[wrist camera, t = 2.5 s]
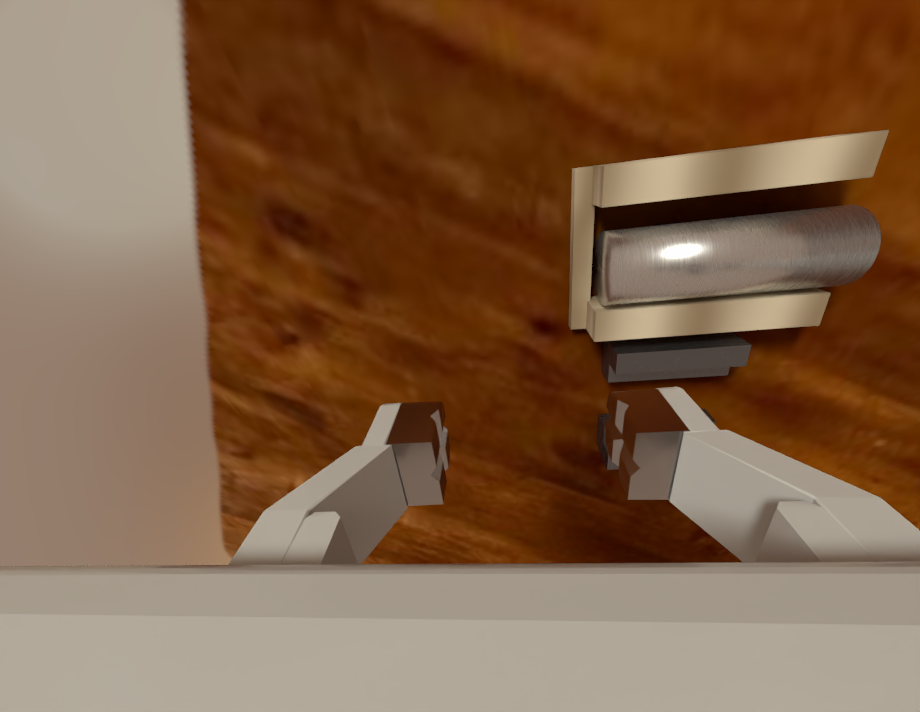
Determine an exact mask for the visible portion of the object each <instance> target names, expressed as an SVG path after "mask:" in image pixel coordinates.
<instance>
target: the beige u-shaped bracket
mask: <svg viewBox="0 0 920 712" xmlns="http://www.w3.org/2000/svg"><path fill="white" fill-rule="evenodd" d="M888 132H889V130H884V131H874V132H863V133H853V134H843V135H833V136H825V137H817V138H809V139H802V140H794V141H786V142H778V143H770V144H762V145H754V146H746V147H739V148H731V149H723V150H715V151H707V152H699V153H691V154H683V155H676V156H668V157H660V158H652V159H644V160H636V161H628V162H620V163H613V164H605V165H597V166H589V167H581V168H573V169H572V199H571V246H570V293H569V327H570V329H571V330H573V329H587V331H588V333H589V334H590V336H591V338H592V339H593V341H594V342H601V341H615V340H628V339H642V338H656V337H669V336H683V335H696V334H710V333H724V332H737V331H751V330H765V329H778V328H792V327H805V326H819V325H820V322H821V319H822V316H823V314H824V311H825V308H826V305H827V303H828V300H829V297H830V294H831V293H829V292H826V291H823V290H821V289H818V288H808V289H796V290H784V291H772V292H761V293H749V294H737V295H725V296H713V297H701V298H689V299H678V300H666V301H654V302H642V303H630V304H618V305H606V306H603V305H601V304H600V302H599V301H598V298H597V296H592V297H590V295H591V275H592V254H593V233H594V213H595V206H598V207H601V208H604V207H613V206H621V205H630V204H639V203H648V202H656V201H665V200H674V199H683V198H692V197H700V196H709V195H718V194H727V193H735V192H744V191H753V190H762V189H771V188H779V187H788V186H797V185H806V184H814V183H823V182H832V181H841V180H850V179H858V178H867V177H873V174H874V171H875V168H876V166H877V163H878V160H879V157H880V154H881V152H882V149H883V146H884V143H885V140H886V138H887V135H888Z"/></svg>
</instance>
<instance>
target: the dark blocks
mask: <svg viewBox="0 0 920 712" xmlns="http://www.w3.org/2000/svg"><path fill="white" fill-rule="evenodd" d="M750 349H751V344H749V343H748V342H746V341H745V340H743V339H742V338H740V337H739V336H737V335H736V334H735V333H733V332H724V333H710V334H696V335H683V336H669V337H656V338H642V339H628V340H615V341H604V345H603V360H602V373H603V375H604V377H605V378H606V380H607V382H608V383H609V382H625V381H642V380H658V379H674V378H691V377H707V376H724V375H728V373H729V369H730V367H739V366H746V364H747V360H748V356H749V353H750ZM701 410H702V411H703V412H704V413H705V414H706V415H707V417H708V418H709V419H710V420H711V421H712V422H713V423H714V424H716V421H715V420H714V419H713V418H712V417H711V415H710V414H709V413H708V412H707V411H706V410H705V409H701ZM610 417H611V415H610V414H599V417H598V431H597V446H598V448H599V451H600V453H601V456H602V458H603V461H604V463H605V466H606V468H607V470H613V469H618V468H619V466H617V465H616V464H614V463H613V462H612V461H611V459H610V456H609V454H608V450H607V447H606V439H605V423H606V421H607V420H608V419H609V418H610Z"/></svg>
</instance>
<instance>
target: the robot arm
mask: <svg viewBox="0 0 920 712" xmlns="http://www.w3.org/2000/svg"><path fill="white" fill-rule="evenodd" d="M607 409H608V411H609V413H610V415H611V417H610V418H609V419H608V420H607V421H606V423H605V439H606V447H607V450H608V454H609V456H610V459H611V461H612V462H613V463H614V464H616V465H617V466H619V468H618V478H619V480H620V483H621V485H622V487H623V490H624V492H625V494H626V497H627V499H628V500H670V501H669V502H671V503H672V504H673V505H674V506H675V507H677V508H678V509H679V510H680V511H681V512H683V513H684V514H685V515H686V516H688V517H689V518H690V519H691V520H692V521H694V522H695V523H696V524H697V525H698V526H700V527H701V528H702V529H703V530H705V531H706V532H707V533H708V534H709V535H711V536H712V537H713V538H714V539H715V540H717V541H718V542H719V543H720V544H722V545H723V546H724V547H725V548H726V549H728V550H729V551H730V552H731V553H732V554H734V555H735V556H736V557H737V558H738V559H740V560H741V561H742V562H733V563H522V564H362V562H363V561H364V560H365V559H366V558H367V556H368V555H369V554H370V553H371V552H372V550H373V549H374V548H375V547H376V546H377V544H378V543H379V542H380V541H381V540H382V538H383V537H384V536H385V535H386V534H387V532H388V531H389V530H390V529H391V527H392V526H393V525H394V524H395V523H396V521H397V520H398V519H399V518H400V517H401V515H402V514H403V513H404V512H405V511H406V509H407V506H416V505H435V504H443V503H444V496H445V489H446V482H447V481H446V475H445V470H446V469H448V467H449V459H450V445H449V435H448V430H447V429H446V428H445V427H444V421H445V411H444V406H443V403H442V402H441V401H438V402H411V403H390V404H383V405H381V406H380V408H379V410H378V412H377V414H376V416H375V418H374V421H373V423H372V425H371V427H370V429H369V431H368V434H367V436H366V438H365V440H364V442H363V444H362V446H355V447H354V448H353V449H351V450H350V451H348V452H347V453H346V454H344V455H343V456H341V457H340V458H338V459H337V460H336V461H334V462H333V463H331V464H330V465H329V466H327V467H326V468H324V469H323V470H321V471H320V472H319V473H317V474H316V475H314V476H313V477H312V478H310V479H309V480H307V481H306V482H304V483H303V484H302V485H300V486H299V487H297V488H296V489H295V490H293V491H292V492H290V493H289V494H287V495H286V496H285V497H283V498H282V499H280V500H279V501H278V502H276V503H275V504H273V505H272V506H270V507H269V508H268V509H266V510H265V511H264V512H263V513H262V515H261V516H260V518H259V519H258V521H257V522H256V524H255V525H254V527H253V528H252V530H251V531H250V533H249V534H248V536H247V537H246V539H245V540H244V542H243V543H242V545H241V546H240V548H239V549H238V551H237V552H236V554H235V555H234V557H233V558H232V560H231V561H230V563H229V565H147V566H146V565H144V566H143V565H137V566H135V565H134V566H133V565H130V566H0V712H920V531H919V530H918V529H917V528H916V527H915V526H913V525H912V524H911V523H910V522H909V521H908V520H906V519H905V518H904V517H903V516H902V515H900V514H899V513H898V512H897V511H896V510H894V509H893V508H892V507H891V506H890V505H889V504H887V503H886V502H885V501H884V500H883V499H881V498H880V497H878V496H875V495H873V494H871V493H869V492H866V491H864V490H862V489H860V488H857V487H855V486H853V485H851V484H848V483H846V482H844V481H842V480H839V479H837V478H835V477H833V476H830V475H828V474H826V473H824V472H821V471H819V470H817V469H815V468H812V467H810V466H808V465H806V464H803V463H801V462H799V461H797V460H794V459H792V458H790V457H787V456H785V455H783V454H781V453H778V452H776V451H774V450H772V449H769V448H767V447H765V446H763V445H760V444H758V443H756V442H754V441H751V440H749V439H747V438H745V437H742V436H740V435H738V434H736V433H733V432H731V431H729V430H719V429H718V428H717V427H716V425H715V424H714V423H713V422H712V421H711V420H710V419H709V418H708V417H707V415H706V414H705V413H704V412H703V411H702V410H701V409H700V408H699V407H698V405H697V404H696V403H695V402H694V401H693V400H692V399H691V398H690V397H689V395H688V394H687V393H686V392H685V391H684V390H683V389H682V388H680V387H667V388H656V389H648V390H635V391H621V392H609V395H608V399H607Z"/></svg>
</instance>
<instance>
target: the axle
mask: <svg viewBox="0 0 920 712" xmlns="http://www.w3.org/2000/svg"><path fill="white" fill-rule="evenodd" d="M880 242H881V232H880V227H879V223H878V221H877V219H876V217H875V216H874V215H873V214H872V213H871V212H870V211H869V210H868V209H866V208H864V207H862V206H858V205H843V206H834V207H824V208H815V209H806V210H796V211H787V212H778V213H768V214H759V215H750V216H740V217H731V218H722V219H712V220H703V221H694V222H684V223H675V224H666V225H656V226H647V227H638V228H628V229H619V230H610V231H602V232H601V233H600V234H599V235H598V237H597V240H596V244H595V251H594V271H593V278H594V287H595V292H596V295H597V298H598V301H599V302H600V304H601V305H603V306H606V305H618V304H630V303H642V302H654V301H666V300H678V299H689V298H701V297H713V296H725V295H737V294H749V293H761V292H772V291H784V290H796V289H808V288H820V287H832V286H842V285H846V284H849V283H852V282H854V281H855V280H857V279H859V278H860V277H861V276H863V275H864V274H865V273H866V272H867V271H868V269H869V268H870V267H871V265H872V264H873V263H874V261H875V259H876V257H877V254H878V251H879V248H880Z"/></svg>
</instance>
